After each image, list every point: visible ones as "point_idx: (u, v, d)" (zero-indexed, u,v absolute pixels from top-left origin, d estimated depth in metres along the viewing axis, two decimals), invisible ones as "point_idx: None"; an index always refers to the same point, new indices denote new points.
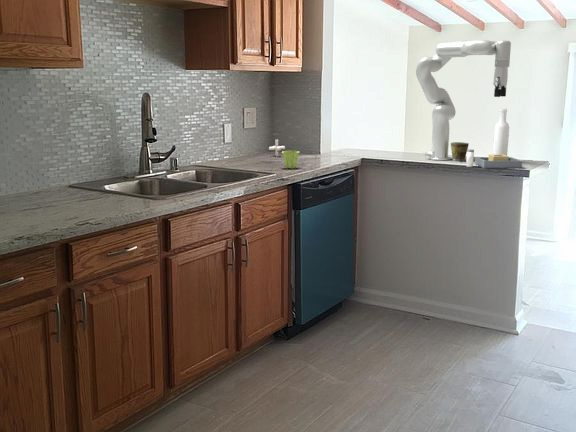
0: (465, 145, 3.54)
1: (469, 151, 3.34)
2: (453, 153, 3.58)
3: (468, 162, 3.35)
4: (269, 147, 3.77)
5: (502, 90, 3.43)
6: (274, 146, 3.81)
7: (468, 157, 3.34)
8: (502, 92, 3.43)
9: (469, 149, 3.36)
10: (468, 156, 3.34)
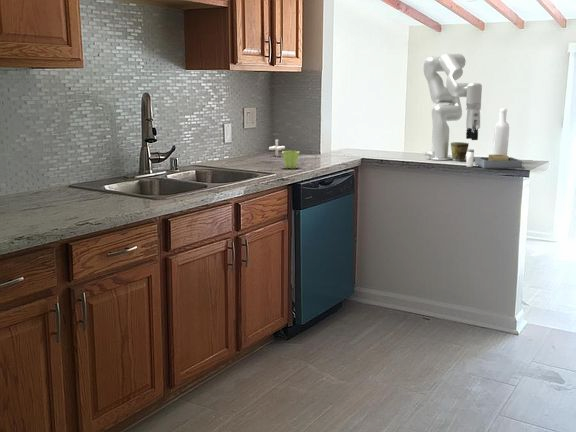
0: (465, 145, 3.54)
1: (469, 151, 3.34)
2: (453, 153, 3.58)
3: (468, 162, 3.35)
4: (269, 147, 3.77)
5: None
6: (274, 146, 3.81)
7: (468, 157, 3.34)
8: None
9: (469, 149, 3.36)
10: (468, 156, 3.34)
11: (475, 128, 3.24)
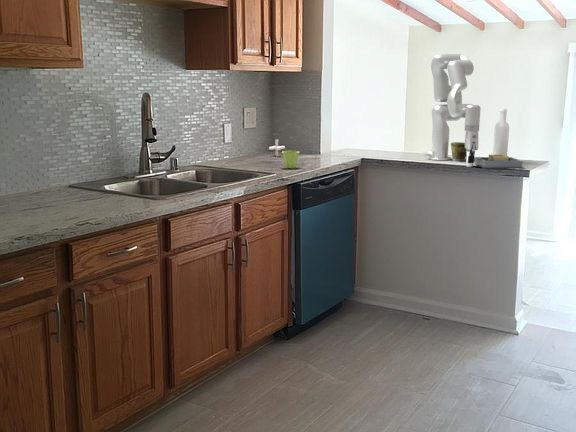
0: None
1: None
2: (453, 153, 3.58)
3: None
4: (269, 147, 3.77)
5: None
6: (274, 146, 3.81)
7: None
8: None
9: None
10: None
11: (471, 152, 3.30)
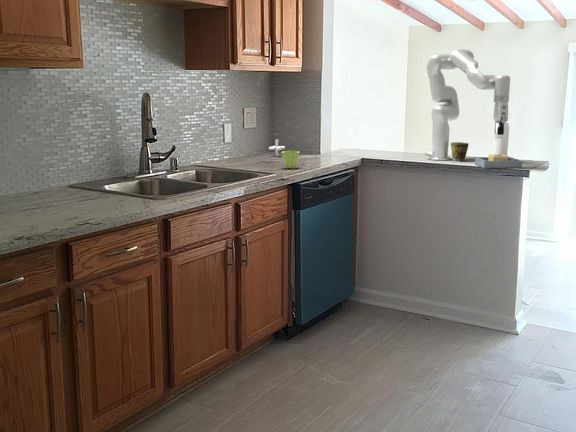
0: (465, 145, 3.54)
1: None
2: (453, 153, 3.58)
3: None
4: (269, 147, 3.77)
5: None
6: (274, 146, 3.81)
7: (497, 129, 3.30)
8: None
9: None
10: (497, 128, 3.30)
11: (501, 123, 3.26)
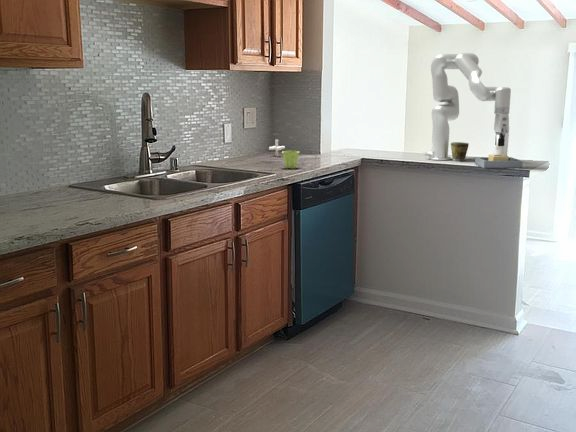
0: (465, 145, 3.54)
1: None
2: (453, 153, 3.58)
3: None
4: (269, 147, 3.77)
5: None
6: (274, 146, 3.81)
7: None
8: None
9: None
10: None
11: (502, 134, 3.27)
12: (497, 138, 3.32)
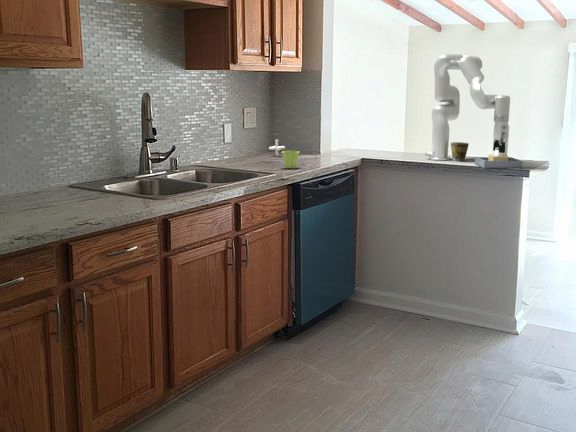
0: (465, 145, 3.54)
1: (497, 149, 3.33)
2: (453, 153, 3.58)
3: None
4: (269, 147, 3.77)
5: None
6: (274, 146, 3.81)
7: (496, 155, 3.34)
8: None
9: None
10: (496, 154, 3.33)
11: (503, 141, 3.26)
12: (495, 153, 3.34)
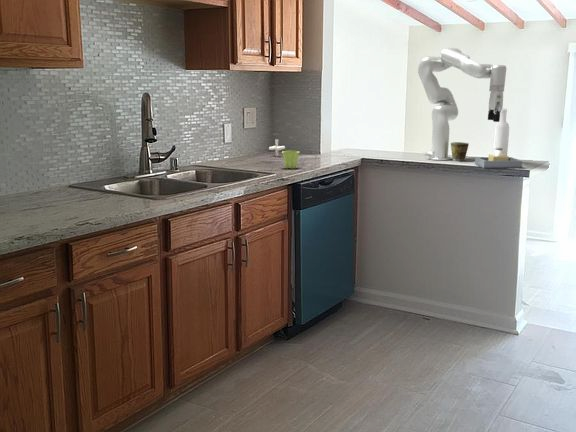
0: (465, 145, 3.54)
1: (498, 149, 3.33)
2: (453, 153, 3.58)
3: None
4: (269, 147, 3.77)
5: None
6: (274, 146, 3.81)
7: (496, 155, 3.34)
8: None
9: None
10: (496, 154, 3.33)
11: (497, 110, 3.28)
12: (495, 153, 3.34)
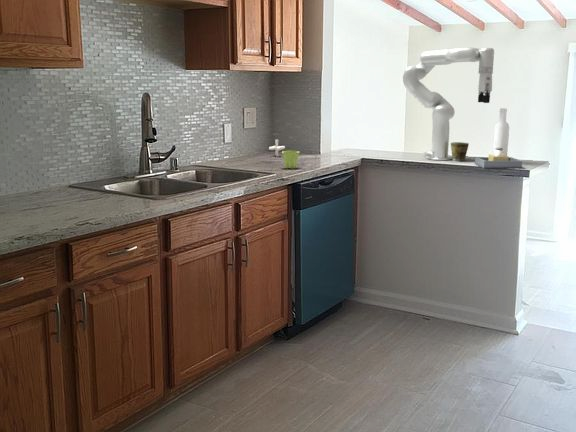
0: (465, 145, 3.54)
1: (498, 149, 3.32)
2: (453, 153, 3.58)
3: None
4: (269, 147, 3.77)
5: None
6: (274, 146, 3.81)
7: (496, 155, 3.33)
8: None
9: None
10: (496, 154, 3.33)
11: (487, 91, 3.38)
12: (496, 153, 3.34)
